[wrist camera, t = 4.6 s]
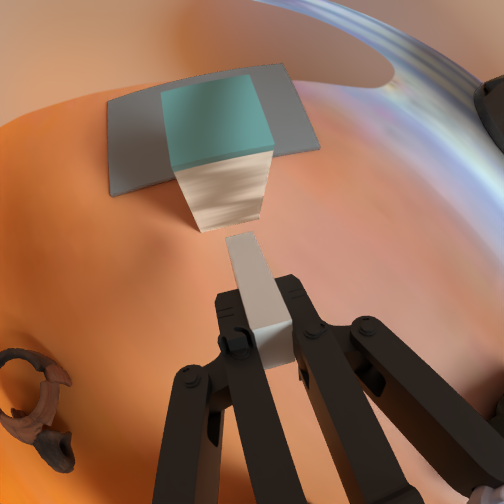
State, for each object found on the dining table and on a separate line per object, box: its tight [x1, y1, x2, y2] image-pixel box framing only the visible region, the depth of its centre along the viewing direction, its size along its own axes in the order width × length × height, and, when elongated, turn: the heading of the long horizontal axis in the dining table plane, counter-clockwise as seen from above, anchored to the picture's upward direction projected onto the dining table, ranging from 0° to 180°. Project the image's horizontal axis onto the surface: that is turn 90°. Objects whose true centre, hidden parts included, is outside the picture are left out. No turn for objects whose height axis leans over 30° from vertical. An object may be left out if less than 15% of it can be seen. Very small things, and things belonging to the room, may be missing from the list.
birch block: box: [161, 75, 275, 233], centre depth 20 cm, size 5×5×12 cm
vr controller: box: [0, 348, 75, 473], centre depth 19 cm, size 12×10×8 cm
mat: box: [108, 63, 320, 197], centre depth 27 cm, size 20×12×1 cm, turn 104°
